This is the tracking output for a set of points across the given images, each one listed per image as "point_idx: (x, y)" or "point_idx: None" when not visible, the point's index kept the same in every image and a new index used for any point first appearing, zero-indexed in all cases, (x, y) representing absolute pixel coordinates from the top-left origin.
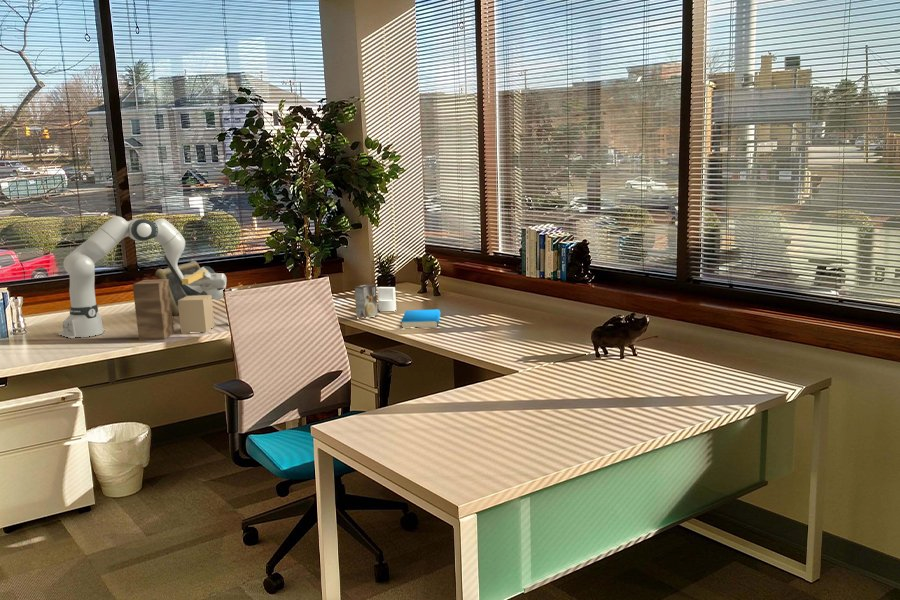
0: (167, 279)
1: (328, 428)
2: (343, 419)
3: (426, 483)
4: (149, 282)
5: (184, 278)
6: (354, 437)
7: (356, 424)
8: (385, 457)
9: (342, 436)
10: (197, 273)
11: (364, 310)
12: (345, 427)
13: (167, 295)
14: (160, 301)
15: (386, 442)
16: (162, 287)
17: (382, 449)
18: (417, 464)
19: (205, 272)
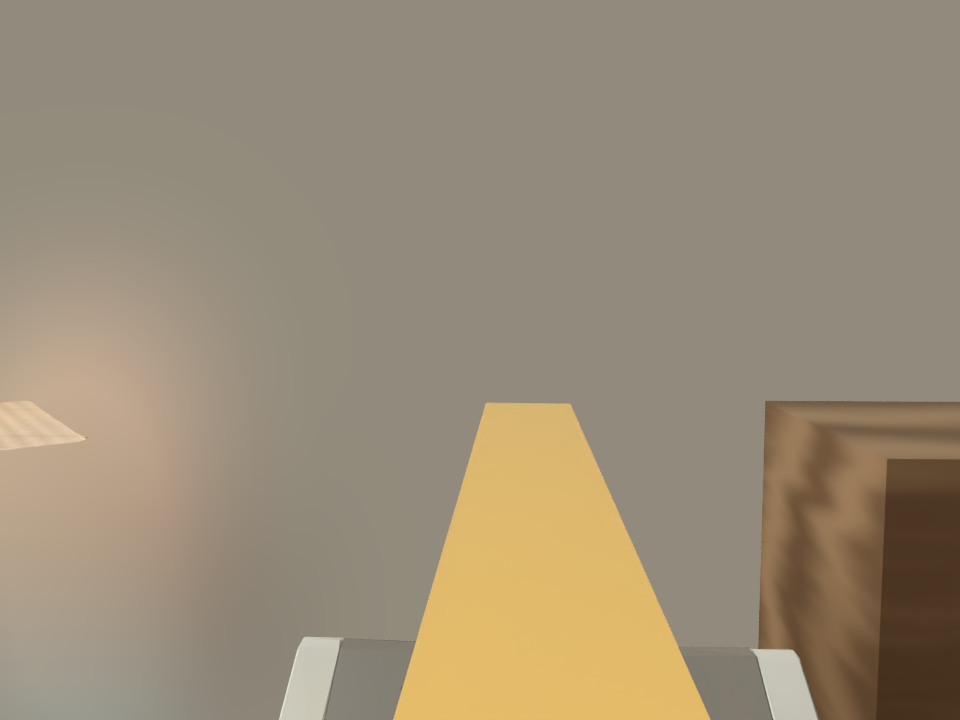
0: (875, 452)
1: (70, 439)
2: (32, 446)
3: (33, 407)
4: (947, 415)
5: (551, 410)
6: (49, 431)
7: (23, 441)
8: (41, 419)
9: (63, 432)
10: (512, 525)
11: None
12: (44, 439)
13: (837, 656)
14: (761, 594)
15: (16, 427)
16: (795, 483)
17: (33, 423)
18: (16, 415)
19: (314, 640)
